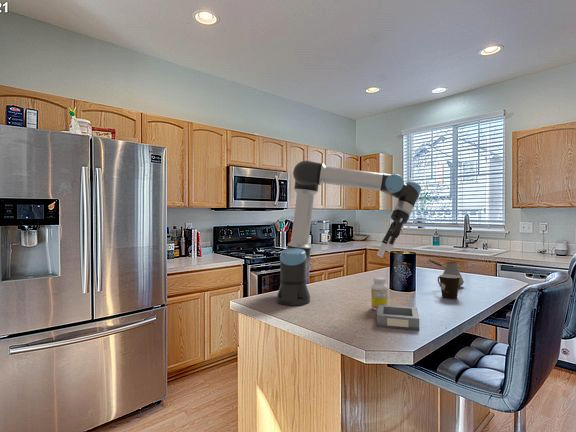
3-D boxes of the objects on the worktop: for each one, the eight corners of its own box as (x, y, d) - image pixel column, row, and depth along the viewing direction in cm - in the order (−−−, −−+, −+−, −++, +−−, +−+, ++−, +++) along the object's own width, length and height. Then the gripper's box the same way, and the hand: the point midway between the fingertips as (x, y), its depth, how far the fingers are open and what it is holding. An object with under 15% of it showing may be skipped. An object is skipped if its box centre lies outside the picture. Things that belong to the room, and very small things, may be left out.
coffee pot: (451, 283, 188) (451, 256, 188) (468, 287, 178) (468, 259, 178) (420, 286, 181) (420, 258, 181) (436, 291, 171) (436, 261, 170)
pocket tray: (376, 326, 118) (376, 315, 118) (378, 314, 132) (378, 304, 132) (419, 330, 114) (419, 318, 114) (417, 318, 128) (416, 307, 128)
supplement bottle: (375, 306, 144) (375, 276, 144) (390, 308, 140) (390, 278, 140) (368, 309, 139) (368, 278, 139) (384, 312, 135) (383, 280, 135)
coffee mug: (462, 300, 152) (462, 278, 152) (441, 299, 154) (441, 277, 154) (454, 294, 164) (454, 273, 164) (436, 293, 165) (435, 273, 165)
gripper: (418, 208, 142) (399, 252, 137) (401, 223, 166) (383, 261, 161) (402, 200, 143) (382, 244, 138) (386, 216, 167) (369, 254, 162)
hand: (383, 253), depth 150 cm, fingers open, 13 cm apart
